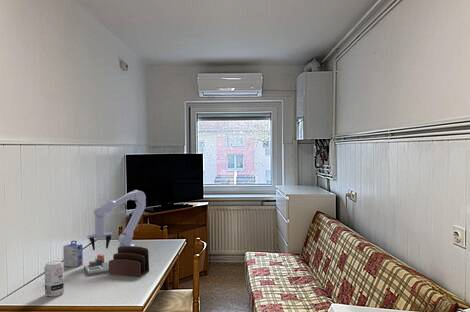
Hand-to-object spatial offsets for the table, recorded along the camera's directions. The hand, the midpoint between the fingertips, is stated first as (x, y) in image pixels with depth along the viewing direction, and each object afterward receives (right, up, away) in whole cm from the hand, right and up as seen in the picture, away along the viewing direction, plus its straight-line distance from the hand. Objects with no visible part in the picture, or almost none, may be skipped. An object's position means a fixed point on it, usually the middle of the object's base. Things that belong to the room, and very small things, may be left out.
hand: (100, 249), depth 238 cm
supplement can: (-4, -10, -51) cm, 52 cm away
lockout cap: (0, -9, 0) cm, 9 cm away
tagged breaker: (0, -7, -13) cm, 15 cm away
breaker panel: (+3, -9, -13) cm, 16 cm away
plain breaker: (+1, -7, -7) cm, 10 cm away
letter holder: (+23, -9, -20) cm, 31 cm away
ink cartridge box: (-15, -9, -3) cm, 18 cm away
